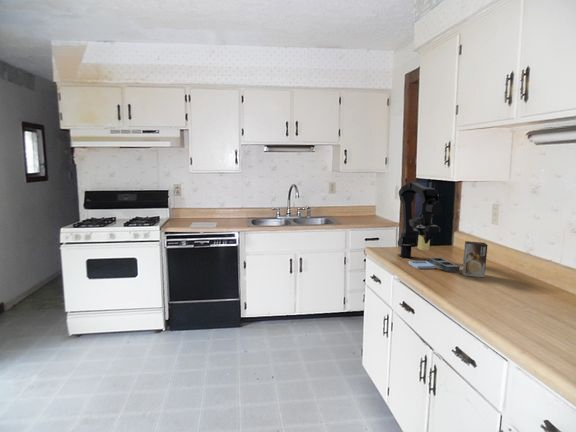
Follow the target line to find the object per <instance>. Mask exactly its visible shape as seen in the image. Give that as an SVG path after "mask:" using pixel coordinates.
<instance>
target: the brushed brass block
mask: <svg viewBox="0 0 576 432" xmlns="http://www.w3.org/2000/svg"><path fill="white" fill-rule="evenodd" d="M430 243H431V239H430V240H429V241H428V243H425V235H419V234H418V238H417V249H419V250H421V251H429V250H430Z"/></svg>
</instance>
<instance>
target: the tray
mask: <svg viewBox="0 0 576 432" xmlns="http://www.w3.org/2000/svg"><path fill="white" fill-rule="evenodd" d="M408 265H410V266H412V267H413V268H415V269H417V270H436V269H437V266H435V265H433V264H431V263H429V262H428V260H408Z"/></svg>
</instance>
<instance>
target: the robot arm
mask: <svg viewBox="0 0 576 432" xmlns="http://www.w3.org/2000/svg"><path fill="white" fill-rule="evenodd" d="M416 194H419V195H418V197H419V198H420V199H421V200H420V202H419V203H420V204H421V207H420V213H418V216H417V217H413V206H412V205H413V202H414V200H415V196H416ZM398 196H399V200H400V202H401V203H402V215H403V217H402V220H403V221H402V222H403V228H402V231H401V232H400V237H399V239H398V240H397V246H399V247H400V253H399V254H397V255H398V256H399V257H401V258H403V259H406V258H408V259H411V258H412V259H413V258H414V256H413V255H412V248H415V247H416V245H417V243H418V238H417V231H418V236H419V235H425V243H428V241H429V240H430V241H431V238H432V237H433V236H434V234H435V233H440V232H441V227H440V226H438V225H437V224H434V223H433V222H432V221H433V218H434V217H435V216H441V214H442V213H443V209H444V207H443V206H442V205H441V204H440V197H439V194H438V191H437V189H436V188H434V187H426V186H424V185H422V184H421V183H419V182H417V181H409V182H407V184H405V185H403V186H401V188H400V189H399V191H398ZM414 229H416V230H417V231H416V230H414Z"/></svg>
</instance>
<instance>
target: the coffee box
mask: <svg viewBox="0 0 576 432" xmlns="http://www.w3.org/2000/svg"><path fill="white" fill-rule="evenodd" d="M487 255H488V244H487V243H485V242H481V241H467V240H464V249H463V258H462V259H463V261H462V269H461V270H462V271H461V273H462V275H464V277H465V276H466V277H475V278H476V277H477V278H478V277H479V278H485V277H486V265H487Z"/></svg>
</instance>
